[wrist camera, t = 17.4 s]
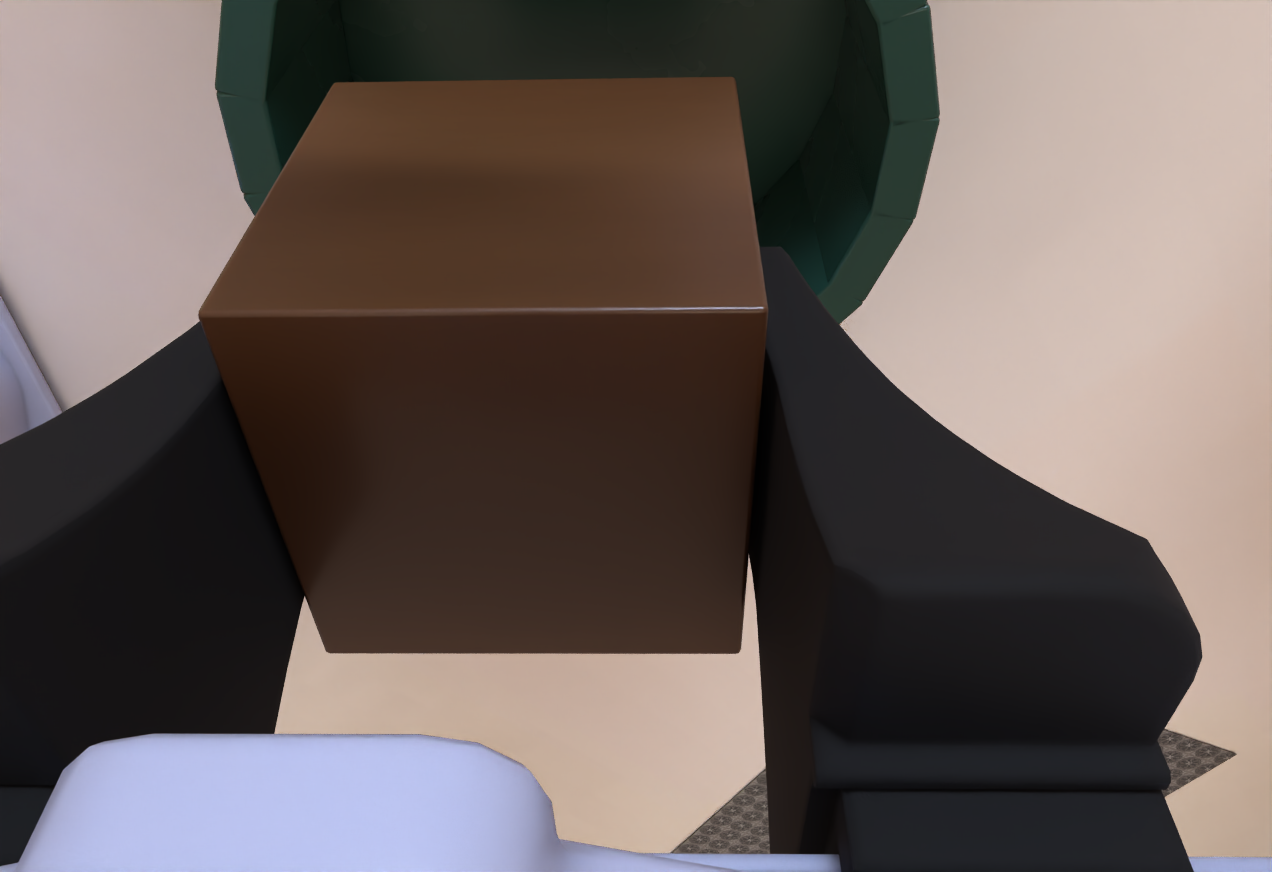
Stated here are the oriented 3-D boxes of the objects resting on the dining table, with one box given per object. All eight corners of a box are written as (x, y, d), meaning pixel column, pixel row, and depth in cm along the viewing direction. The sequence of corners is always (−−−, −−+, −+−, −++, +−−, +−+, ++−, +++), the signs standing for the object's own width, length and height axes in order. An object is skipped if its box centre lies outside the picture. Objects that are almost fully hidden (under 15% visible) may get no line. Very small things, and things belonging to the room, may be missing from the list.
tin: (908, 211, 23) (962, 353, 19) (445, 321, 25) (406, 469, 21) (833, -424, 16) (894, -410, 12) (188, -188, 18) (54, -108, 14)
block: (721, 389, 16) (740, 655, 12) (403, 391, 16) (325, 654, 12) (736, 74, 12) (769, 309, 9) (331, 80, 12) (194, 313, 9)
